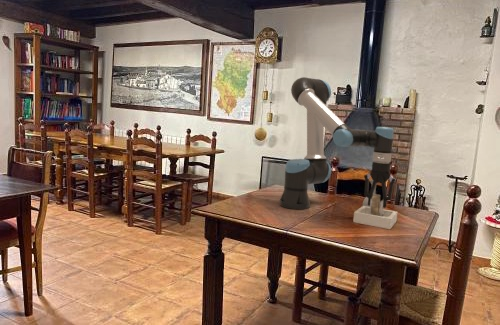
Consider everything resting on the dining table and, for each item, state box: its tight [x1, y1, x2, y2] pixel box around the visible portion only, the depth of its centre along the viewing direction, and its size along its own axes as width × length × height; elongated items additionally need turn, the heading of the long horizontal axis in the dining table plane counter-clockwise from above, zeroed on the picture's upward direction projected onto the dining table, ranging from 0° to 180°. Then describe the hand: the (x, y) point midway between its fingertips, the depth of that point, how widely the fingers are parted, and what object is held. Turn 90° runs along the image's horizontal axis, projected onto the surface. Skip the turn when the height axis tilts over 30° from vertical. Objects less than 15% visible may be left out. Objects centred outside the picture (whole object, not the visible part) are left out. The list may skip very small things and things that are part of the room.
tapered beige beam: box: [372, 193, 381, 216], centre depth 166 cm, size 2×4×11 cm, turn 149°
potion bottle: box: [362, 178, 381, 208], centre depth 185 cm, size 9×9×18 cm
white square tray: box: [352, 205, 398, 230], centre depth 166 cm, size 16×16×4 cm
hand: (376, 213), depth 166 cm, fingers open, 4 cm apart
